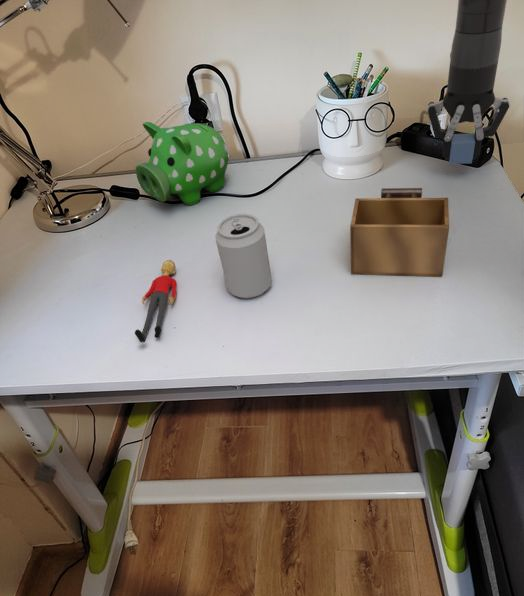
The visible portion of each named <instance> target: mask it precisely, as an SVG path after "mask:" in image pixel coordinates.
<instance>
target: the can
mask: <svg viewBox="0 0 524 596" xmlns="http://www.w3.org/2000/svg"><path fill="white" fill-rule="evenodd" d="M216 228H217V231H216V233H215V235H214V237H215V243H216V248H217V252H218V255H219V260H220V264H221V268H222V272H223V273H222V274H223V276H224V281H225V285H226V289H227V291H228V292H229V293H230V294H231V295H233V296H235V297H238V298H241V299H253V298H257V297H259V296H261V295H262V294H264V293H265V292H266V291H268V289H269V288H270V287H271V286H272V283H273V277H272V271H271V264H270V258H269V251H268V245H267V239H266V238H267V237H266V233H265V227H264V225H262V224H261V222H259V219H258V217H256V216H255V215H253V214H250V213H236V214H231V215H229V216H226V217H225V218H223V219H222V220H220V221H219V223H218V225H217V227H216Z"/></svg>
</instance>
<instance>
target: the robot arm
mask: <svg viewBox="0 0 524 596" xmlns="http://www.w3.org/2000/svg"><path fill="white" fill-rule="evenodd" d="M507 1H508V0H457V10H456V11H457V12H456V20H455V28H454V34H453V38H452V44H451V51H450V53H449V58H450V59H449V68H448V77H447V87H446V93H445V95H444V96H443V97H442V100H439V101H437V102H434V101H430V102H429V103H428V104H427V114H428V117H429V121H430V125H431V129H432V133H433V136H434V138H435V139H437V140H438V139H441V140H442V141H443V142H442V150H441V155H442V158H445V161H449V159H450V151H451V143H452V140H451V138H452V136H453V134H455V131H456V129H457V127H458V125H459V124H463V123H465V122H467V123H474V130H475V133H474V138H475V147H474V153H473V159H472V160H476V159H477V157H479V156H480V155H481V151H482V146H483V140H484V139H485V138H488V137H490V138H492V137H493V136H495V135H496V132H497V131H498V130H499V128H500V125H501V124H502V122H503V120H504V118H505V116H506V115H507V112H508V110H509V109H510V102H509V99H508V98H507V97H503V98H500V97H496V96H495V93H494V87H495V83H496V76H497V70H498V65H499V59H500V53H501V47H502V39H503V38H502V37H503V26H504V19H505V13H506V8H507V7H506V6H507ZM492 106H493V111H494V113H493V115H492V117H491V119H490V120H489V122H488V124H487V126H485V127H484V126H483V119H482V117H483V116H484V115H485V113H486V112H487V111H488V110H489V109H491V107H492ZM443 108H444V109H445V111H446V112H447V114H448V115H449V117H448V121H447V124H446V127H445V128H442V126H441V122H440V118H439V116H440V115H441V113H442V109H443Z"/></svg>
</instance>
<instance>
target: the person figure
mask: <svg viewBox="0 0 524 596" xmlns="http://www.w3.org/2000/svg"><path fill="white" fill-rule="evenodd" d="M160 272H161V273H162V275H159V276H157V277H156V278H155V279H153V280H152V282H151V285H150V287H149V289H148V291H147V292H145V295H144V296H142V299H141V303H142V305H145V304H146V303H145V301H147V300H148V298H150V301H149V304H148V307H147V314H146V318H145V321H144V325H143V328H142V330H140V329H138V328H137V329H136V330H135V331H134V335H135V336H136V338H137V340H138V341H139V342H141V343H144V342H145V341H146V338H147V335H148V332H149V330H150V327H151V324H152V321H153V317H154V313H155V310H156V308H157V306H158V308H157V317H156V321H155V327H154V338H156V339H159V338H160V336H161V334H162V325H163V321H164V314H165V311H166V307H167V303H168V305H173V303H174V302H175V299H176V297H177V283H178V282H177V279H175V278H173V277H172V276H173V275H175V274H176V263H175V262H174V261H173V260H172V259H166V260H165V261H164V262H163V263H162V266H161V269H160ZM170 288H171V296H170V297H169V290H170ZM168 300H169V301H168Z"/></svg>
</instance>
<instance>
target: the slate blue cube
mask: <svg viewBox="0 0 524 596" xmlns="http://www.w3.org/2000/svg"><path fill="white" fill-rule="evenodd" d="M474 136H475V133H474V132H471V133H453V136H452V138H451V140H452V143H451V151H450V159H449V160H448V164H449V165H463V164H465V165H466V164H467V165H468V164H470V165H471V164H473V160H474V159H473V153H474V147H475V138H474Z"/></svg>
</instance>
